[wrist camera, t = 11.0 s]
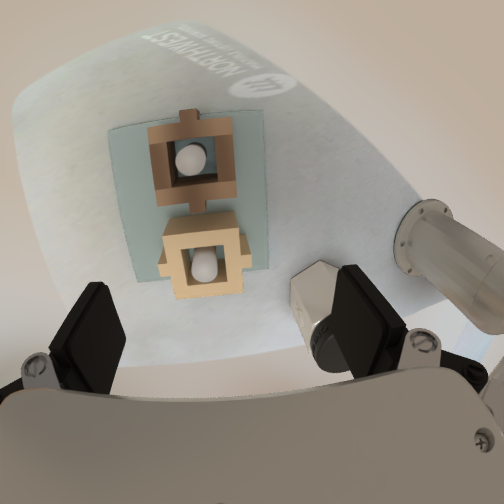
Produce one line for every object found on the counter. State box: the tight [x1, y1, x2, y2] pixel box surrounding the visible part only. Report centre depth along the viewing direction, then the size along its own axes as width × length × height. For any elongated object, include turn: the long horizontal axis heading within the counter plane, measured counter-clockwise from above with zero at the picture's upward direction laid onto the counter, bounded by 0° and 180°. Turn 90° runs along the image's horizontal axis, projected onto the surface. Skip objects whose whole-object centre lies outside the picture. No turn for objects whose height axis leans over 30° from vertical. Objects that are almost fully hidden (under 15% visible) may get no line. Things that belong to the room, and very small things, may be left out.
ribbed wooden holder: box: [147, 109, 237, 214], centre depth 24 cm, size 7×9×5 cm
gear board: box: [108, 110, 269, 299], centre depth 26 cm, size 16×18×8 cm
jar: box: [290, 261, 350, 373], centre depth 32 cm, size 9×8×12 cm
